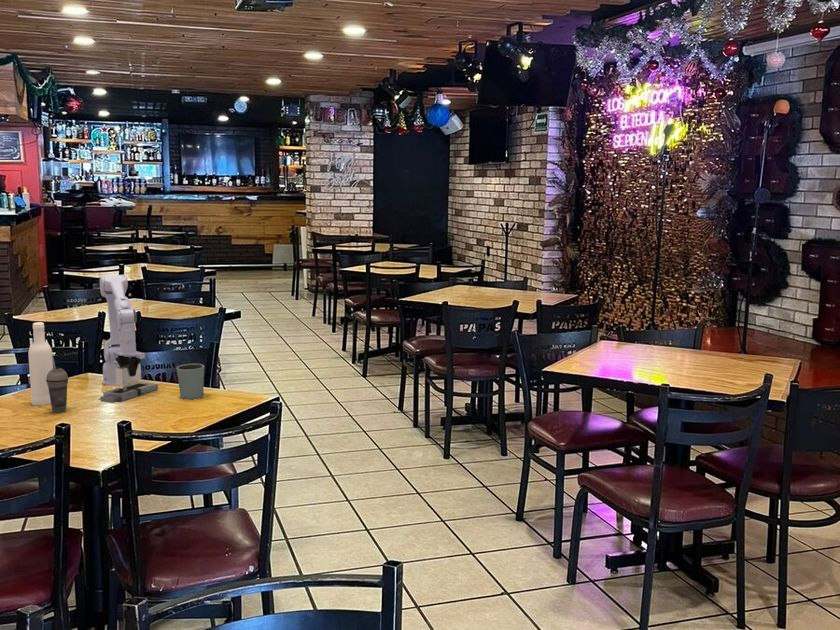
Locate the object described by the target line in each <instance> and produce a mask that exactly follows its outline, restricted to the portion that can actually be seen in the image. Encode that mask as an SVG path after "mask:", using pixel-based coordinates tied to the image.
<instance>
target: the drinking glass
mask: <svg viewBox="0 0 840 630" xmlns="http://www.w3.org/2000/svg"><path fill="white" fill-rule="evenodd" d="M175 369H176V374H177V380H178V388H179V396H180V397H179V398H180V399H181V398H182V399H181V400H184V399H187V400H186V401H193V399H195V400H200V399H202V398H204V391H205V390H204V389H205V388H204V385H205V379H204V378H205V365H204V364H201V363H185V364H181V365H178V366H176V367H175Z"/></svg>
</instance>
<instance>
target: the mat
mask: <svg viewBox="0 0 840 630" xmlns="http://www.w3.org/2000/svg"><path fill="white" fill-rule="evenodd" d="M159 390H160V389H158V388H157V389H156V390H155V391H152V392H149V393H146V394H143V395H137V397H134V398H131V399H128V400H125V401H118V402H117V403H124V402H127V401H129V400H132V399H135V398H138V397H142V396H144V395H148V394H151V393H153V392H157V391H159ZM97 400H99V401H101V400H100V398H97Z"/></svg>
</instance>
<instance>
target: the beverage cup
mask: <svg viewBox="0 0 840 630" xmlns="http://www.w3.org/2000/svg"><path fill="white" fill-rule="evenodd" d="M52 362H53V369H52V370H50V371H49V372H48V374H47V378H46V381H47V385H48V389H49V395H50V401H51V404H50V406H51V411H52V413H55V414H59V413H65V412H66V410H67V402H68V401H67V399H68V383H69V377H68V373H67V372H66V371H65V370H64V369H63V368H62V367H56V364H55V359H54V355H52Z"/></svg>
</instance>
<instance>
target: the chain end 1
mask: <svg viewBox="0 0 840 630" xmlns="http://www.w3.org/2000/svg"><path fill="white" fill-rule="evenodd" d="M102 394H103V395H102V396H100V397H99V399H100V400H99V401H100V402H104V403H111V404H114V403H119V402H118V401H124V402H126V401H125V400H127V401H129V400H128V399H130V400H132V399H131V398H133V399H135V398H134V397H136V398H138V397H137V390H130V391H127V392H124V393H123V387H117V388H114V389H110V390H107V391H104V392H103V393H102Z"/></svg>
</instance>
